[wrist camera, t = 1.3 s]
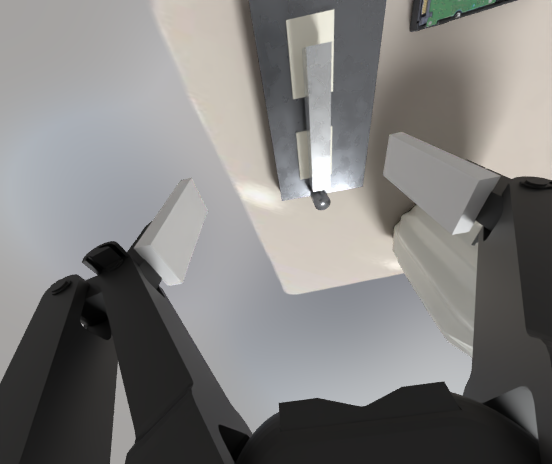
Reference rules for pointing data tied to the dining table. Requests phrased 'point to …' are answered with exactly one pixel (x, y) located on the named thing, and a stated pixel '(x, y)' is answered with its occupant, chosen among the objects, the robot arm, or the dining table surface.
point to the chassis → (344, 98)
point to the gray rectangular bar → (318, 118)
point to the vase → (440, 272)
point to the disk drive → (447, 11)
